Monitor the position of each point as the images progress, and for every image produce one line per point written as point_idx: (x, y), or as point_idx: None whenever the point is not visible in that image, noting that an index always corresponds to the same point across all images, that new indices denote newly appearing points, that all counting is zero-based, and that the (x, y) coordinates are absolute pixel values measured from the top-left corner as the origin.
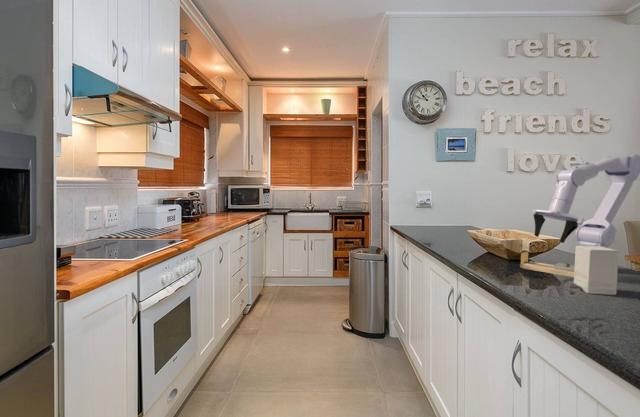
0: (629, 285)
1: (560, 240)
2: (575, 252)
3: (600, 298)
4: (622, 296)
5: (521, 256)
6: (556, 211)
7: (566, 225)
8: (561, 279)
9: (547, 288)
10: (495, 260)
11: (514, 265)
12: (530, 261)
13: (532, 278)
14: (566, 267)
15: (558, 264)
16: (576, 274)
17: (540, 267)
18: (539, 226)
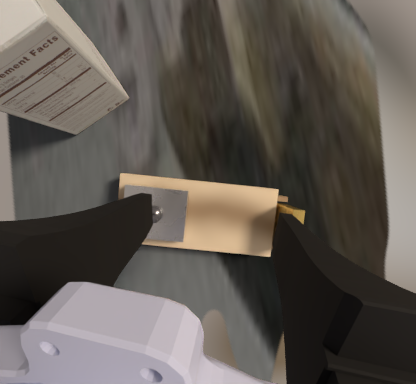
0: (24, 217)
1: (148, 195)
2: (68, 33)
3: None
4: None
5: (297, 208)
6: (61, 309)
7: (64, 225)
8: (166, 158)
9: (176, 20)
10: None
11: None
12: (269, 254)
13: (229, 110)
14: (152, 187)
15: (178, 211)
16: (106, 69)
17: (225, 184)
18: (293, 265)
